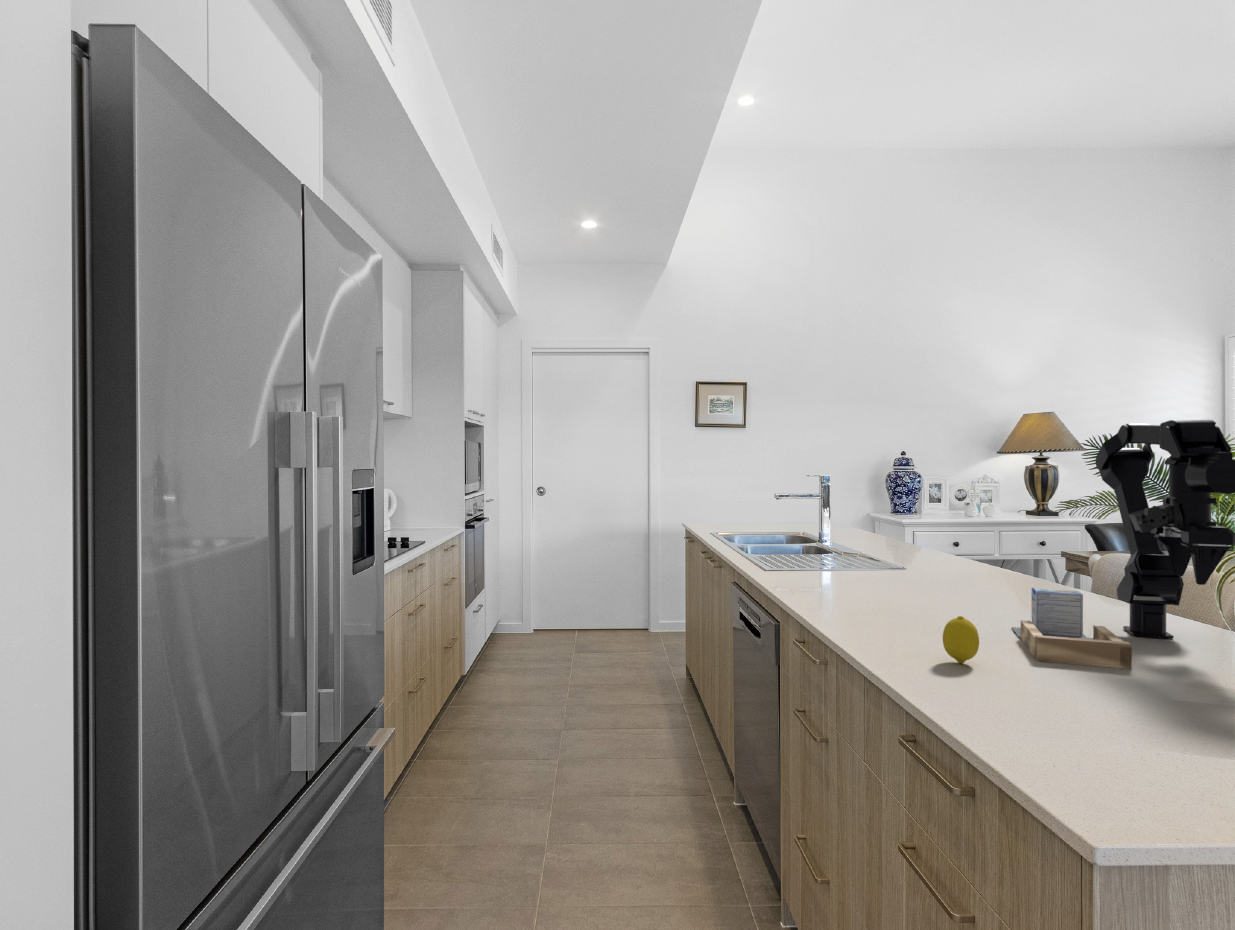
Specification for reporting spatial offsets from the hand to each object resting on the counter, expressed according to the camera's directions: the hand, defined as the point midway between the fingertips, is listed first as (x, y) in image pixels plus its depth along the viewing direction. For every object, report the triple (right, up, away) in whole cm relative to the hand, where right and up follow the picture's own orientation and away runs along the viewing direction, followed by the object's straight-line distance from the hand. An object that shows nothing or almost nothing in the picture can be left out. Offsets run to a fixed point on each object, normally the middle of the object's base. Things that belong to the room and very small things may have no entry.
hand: (1189, 580), depth 122 cm
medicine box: (-15, -13, +12) cm, 24 cm away
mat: (-16, -13, +13) cm, 25 cm away
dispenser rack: (-20, -13, +1) cm, 24 cm away
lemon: (-43, -14, -5) cm, 45 cm away
